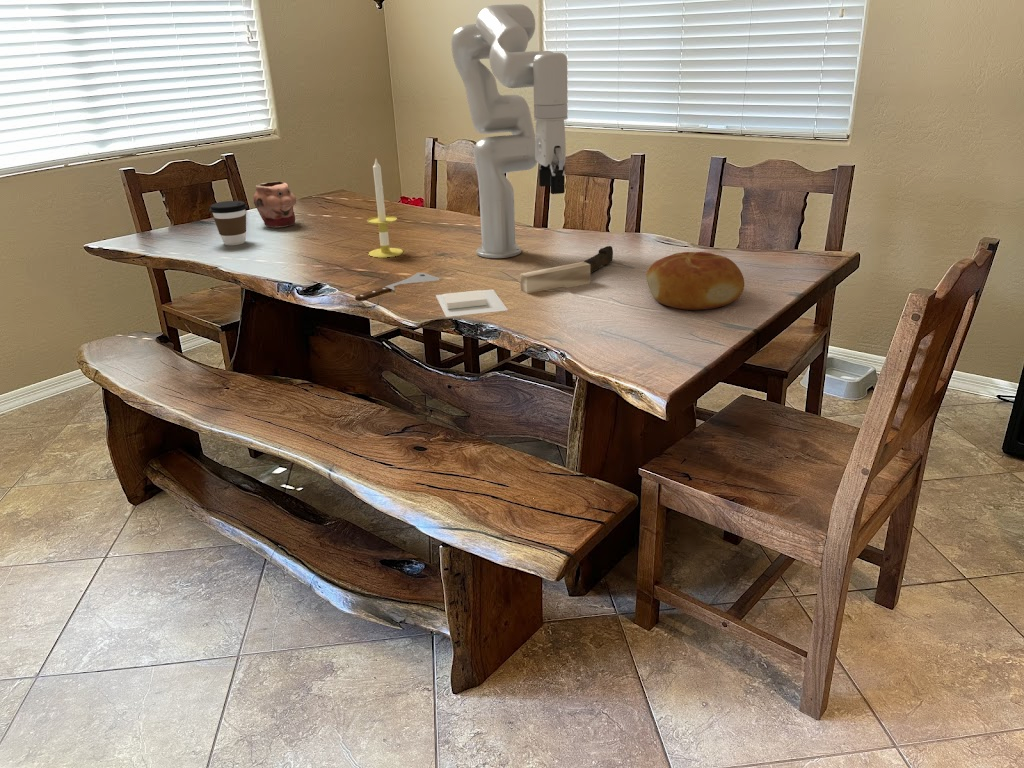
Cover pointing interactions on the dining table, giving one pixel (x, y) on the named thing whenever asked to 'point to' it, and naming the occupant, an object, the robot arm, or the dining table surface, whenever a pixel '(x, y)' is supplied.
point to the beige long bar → (556, 277)
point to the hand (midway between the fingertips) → (551, 189)
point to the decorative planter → (275, 204)
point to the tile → (464, 299)
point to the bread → (695, 281)
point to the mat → (492, 306)
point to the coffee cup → (230, 221)
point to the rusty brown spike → (601, 258)
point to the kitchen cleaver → (413, 279)
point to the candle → (382, 219)
